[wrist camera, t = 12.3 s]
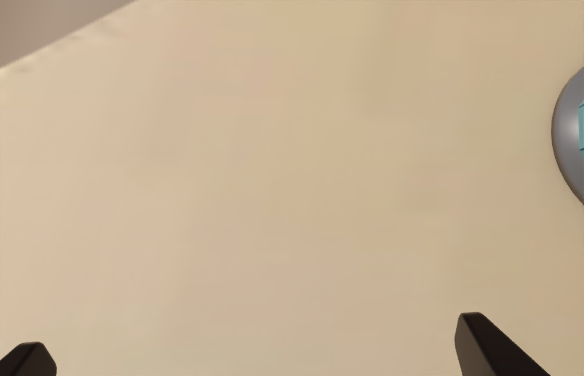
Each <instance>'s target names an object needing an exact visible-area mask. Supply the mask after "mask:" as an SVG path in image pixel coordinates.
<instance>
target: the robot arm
mask: <svg viewBox="0 0 584 376" xmlns="http://www.w3.org/2000/svg"><path fill="white" fill-rule="evenodd" d="M455 348H456V352H457V356H458V360H459V363H460V367H461V371H462V375H463V376H550V375H549V374H548V373H547V372H546V371H545V370H544V369H543V368H542V367H541V366H539V365H538V364H537V363H536V362H535V361H534V360H533V359H532V358H531V357H529V356H528V355H527V354H526V353H525V352H524V351H523V350H522V349H521V348H520V347H518V346H517V345H516V344H515V343H514V342H513V341H512V340H511V339H510V338H509V337H507V336H506V335H505V334H504V333H503V332H502V331H501V330H500V329H499V328H498V327H496V326H495V325H494V324H493V323H492V322H491V321H490V320H489V319H488V318H487V317H485V316H484V315H483V314H481V313H479V312H470V313H462V314H460V316H459V318H458V323H457V328H456V333H455ZM56 373H57V367H56V363H55V361H54V360H53V358H52V357H51V355H50V354H49V352H48V350H47V349H46V347H45V346H44V344H43V343H41V342H26V343H21V344H19V345H18V346H16V347H15V348H14V349H13V350H12V351H10V352H9V353H8V354H7V355H6V356H5V357H3V358H2V359H1V360H0V376H56Z"/></svg>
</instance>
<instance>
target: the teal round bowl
mask: <svg viewBox="0 0 584 376" xmlns="http://www.w3.org/2000/svg"><path fill="white" fill-rule="evenodd" d="M551 135H552V146H553V150H554V155H555V158H556V161H557V164H558V167H559V169H560V171H561V173H562V175H563V177H564V179H565V181H566V183H567V184H568V186H569V187H570V188H571V190H572V191H573V193H574V194H575V195H576V196H577V197H578V199H579V200H580V201H581V202H582V203H583V204H584V67H583V68H581V69H580V70H579V71H578V72H577V73H576V74H575V75H574V76H573V77H572V78H571V79H570V80H569V81H568V83H567V84H566V85H565V87H564V88H563V90H562V92H561V94H560V96H559V97H558V100H557V103H556V105H555V108H554V113H553V117H552V128H551Z"/></svg>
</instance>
